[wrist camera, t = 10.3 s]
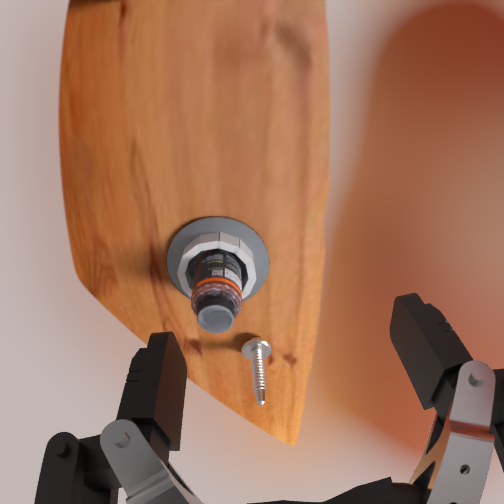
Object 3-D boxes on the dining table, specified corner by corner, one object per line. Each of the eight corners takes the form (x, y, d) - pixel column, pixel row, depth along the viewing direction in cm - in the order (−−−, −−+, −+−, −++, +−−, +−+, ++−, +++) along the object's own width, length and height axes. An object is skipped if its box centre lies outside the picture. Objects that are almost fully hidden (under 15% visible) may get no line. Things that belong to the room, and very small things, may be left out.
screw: (260, 326, 49) (275, 343, 51) (235, 339, 50) (251, 355, 52) (267, 391, 38) (285, 406, 40) (236, 403, 39) (256, 417, 41)
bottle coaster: (155, 226, 40) (150, 237, 37) (261, 208, 40) (263, 217, 37) (182, 308, 47) (180, 322, 44) (273, 296, 46) (276, 309, 44)
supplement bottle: (210, 289, 44) (205, 346, 34) (188, 257, 42) (175, 310, 32) (248, 273, 43) (252, 329, 33) (228, 238, 41) (225, 290, 31)
